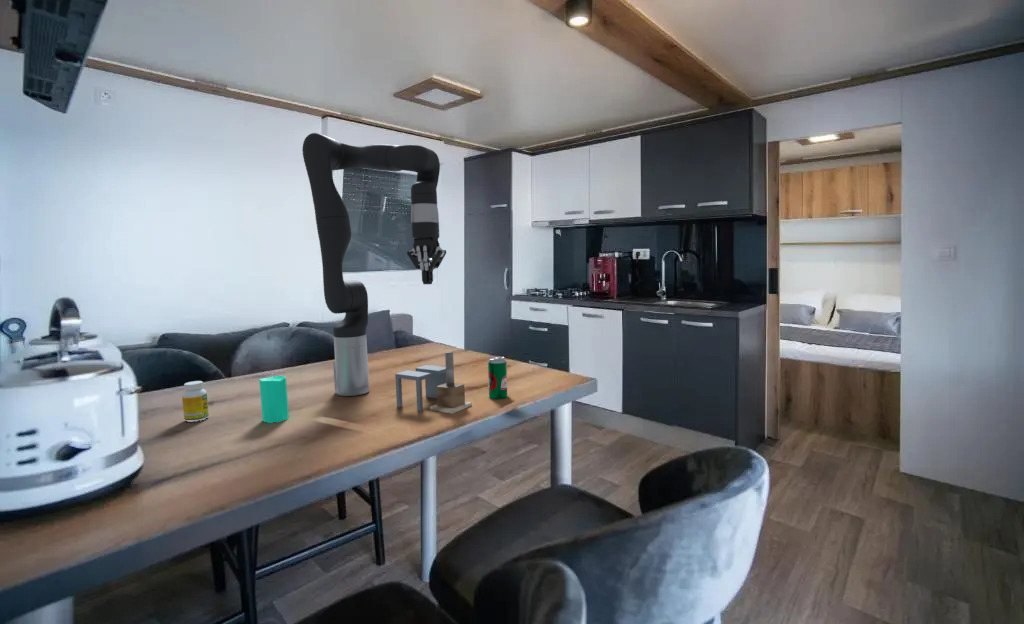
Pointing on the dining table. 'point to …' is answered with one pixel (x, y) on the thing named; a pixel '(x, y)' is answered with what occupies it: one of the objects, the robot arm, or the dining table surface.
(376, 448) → the dining table surface
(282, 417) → the candle
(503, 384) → the soda can
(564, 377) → the dining table surface
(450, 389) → the stepped block tower
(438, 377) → the grey table frame
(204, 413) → the supplement bottle
